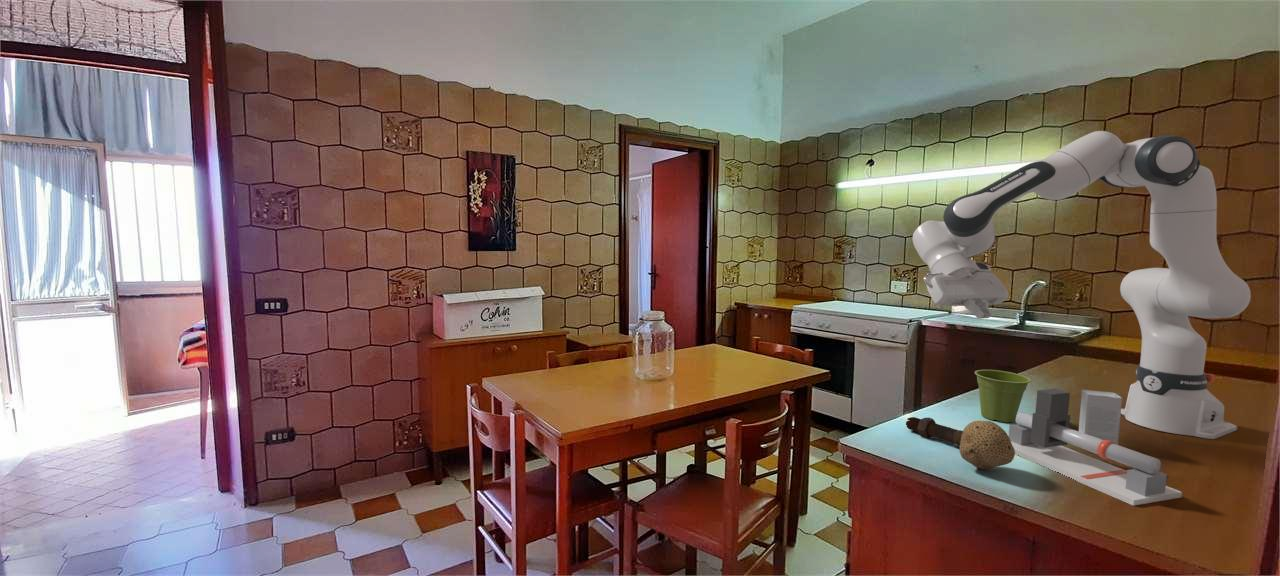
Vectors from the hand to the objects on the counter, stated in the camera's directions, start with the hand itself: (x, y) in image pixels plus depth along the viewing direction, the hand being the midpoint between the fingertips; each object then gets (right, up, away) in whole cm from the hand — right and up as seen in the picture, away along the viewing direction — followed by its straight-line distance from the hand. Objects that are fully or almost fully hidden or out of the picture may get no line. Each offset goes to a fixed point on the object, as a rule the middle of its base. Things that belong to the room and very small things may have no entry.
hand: (985, 317), depth 125 cm
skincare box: (+20, -29, -8) cm, 36 cm away
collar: (+4, -26, -14) cm, 30 cm away
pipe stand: (+6, -30, -20) cm, 36 cm away
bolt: (-14, -29, -6) cm, 32 cm away
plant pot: (+10, -27, +9) cm, 30 cm away
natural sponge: (-14, -30, -20) cm, 39 cm away
